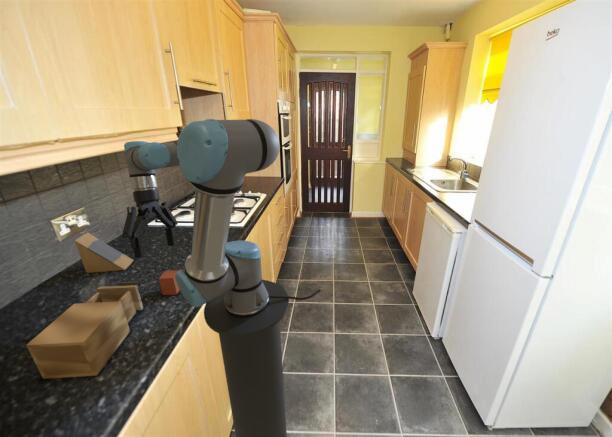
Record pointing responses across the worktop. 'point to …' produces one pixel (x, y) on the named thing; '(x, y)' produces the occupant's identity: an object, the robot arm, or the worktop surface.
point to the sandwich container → (100, 255)
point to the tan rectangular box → (80, 340)
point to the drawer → (120, 297)
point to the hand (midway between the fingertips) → (156, 251)
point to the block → (169, 283)
